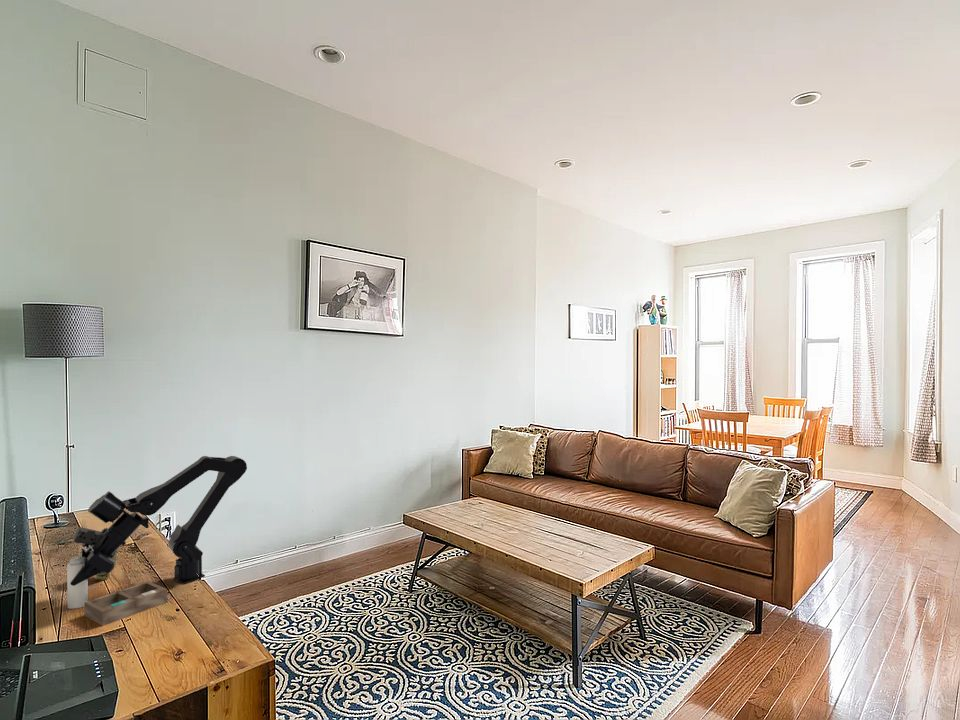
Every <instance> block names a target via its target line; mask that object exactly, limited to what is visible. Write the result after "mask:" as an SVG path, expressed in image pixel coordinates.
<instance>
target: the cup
mask: <svg viewBox="0 0 960 720" xmlns="http://www.w3.org/2000/svg"><path fill="white" fill-rule="evenodd" d="M113 555H114V556H113V557H112V558H111V559H112V560H113V562H114V568H113V569H112V570H111V571H110V572H109V573H106V572H101V573H99V574H96V575H95V576H94V577H95V580H96V581H105V580H108V579H109V578H110V576H111V572H113V571H114V570H115V568H116V563H117V557H118V550H116V551H115V552H114V553H113Z"/></svg>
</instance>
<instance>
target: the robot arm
mask: <svg viewBox="0 0 960 720" xmlns="http://www.w3.org/2000/svg"><path fill="white" fill-rule="evenodd" d="M247 469H248V465H247V462H246V461H245V460H244V459H242V458H241V457H238V456H236V455H230V456H229V455H228V456H227V457H217V456H214V457H213V456H208V455H203V456H201V457H200V458H199V459H198V460H196V461H195V462H193V463H192V464H191V465H188V466H187V467H186V468H184V469H183V470H181V471H179V472H178V473H177V474H175V475H174V476H172V477H171V478H169V479H168V480H167V481H165V482H163V483H161V484H159V485H157V486H154V487H151V488H148V489H147V490H144V491H143V492H141V493H139V494H137V496H136V497H132V498H127V499H125V500H124V499H123V500H121V499H120V498H118V497H117V496H116V495H115V494H114V493H112V492H111V491H109V490H108V491H107V492H106V493H105V494H103V495H101V496H100V497H99V498H97V499H95V501H93V502H92V504H91V505H90V506H89V508H88V509H87V512H88V513H90V514H91V515H92V516H94V517H95V518H98V520H101V522H104V523H105V524H107V523H112V524H111V525H110V526H109V527H105V528H103V529H101V531H99V530H95V529H90V528H87V527H81V526H79V527H77V530H76V532H74V535H73V537H72V540H73V542H74V543H76V544H81V546H82V548H81V550H80V552H81V556H80V557H84V565H83V567H82V568H81V569H80V571H79V572H78V573H77V575H76V576H75V577H74V579H73V580H72V581H71V583H70V584H71V585H73V586H74V585H76V584H78V583H80V582H82V581H84V580H86V579H88V580H89V579H90V578H92V577H95V576H96V574H99V573H101V572H106V573H109V572H110V571H111V570H112V569H113V568H114V562H113V560H112V559H111V558H112V557H113V556H114V555H113V553H114V552H115V551H118V549H120V547H121V546H123V547H124V546H125V545H126V544H127V542H126V541H127V540H128V539H129V538H130V537H131V536H132V535H133V534H134V533H135V531H137V529H138V528H140V527H141V526H142V527H144V528H145V529H149V521H150V518H149V517H150V516H152V515H154V514H156V513H157V512H158V511H159V510H160V509H161V508H163V507H164V506H165V504H167V502H168V501H169V499H170V498H171V497H172V496H174V495H175V494H176V493H178V492H179V491H181V490H182V489H183V488H185V487H187V486H188V485H189V484H191V483H192V482H194V481H195V480H197V479H198V478H199V477H201V476H203V475H204V474H205V473H208V472H209V471H210V472H211V471H214V472H217V476H216V479H215V481H214V483H213V485H211V487H210V489H209V490H208V491H207V493H206V495H205V496H204V497H203V499H202V500H201V502H200V504H199V505H198V506H197V507H196V509H195V511H194V512H193V513H192V515H191V517H190V518H189V520H188V521H187V522H186V523H185V524H183V525H182V526H180V525H179V524H177V525H176V526H175V529H174V530H173V532H172V533H171V534H170V535H169V536H168V538H169V540H168V542H167V543H168V548H169V550H170V551H171V552H172V553H173V554H174V556H175V557H178V558H177V559H175V565H174V567H173V568H174V576H173V577H172V579H173V581H176V582H179V583H181V584H188V583H191V582H195V581H197V580H199V579H201V578H204V577H206V575H205V574H204V573H203V566H202V565H203V554H204V553H203V551H202V550H201V549H200V548H199V547H198V546H197V543H198V541H199V537H200V534H201V532H202V529H203V527H204V526H205V524H206V523H207V521H208V520H209V518H210V517H211V515H212V514H213V513H214V510H215V509H216V507H218V505H219V503H220V502H221V500H222V499H223V497H224V495H225V494H226V492H227V491H228V490H229V488H230V487H232V486H233V485H234V484H235V483H237V482H238V481H239V480H240V479H241V478H242V476H243V475H245V473H246V471H247ZM138 513H139V514H138ZM148 516H149V517H148ZM114 569H115V568H114ZM114 569H113V570H114ZM110 573H111V572H110ZM196 573H197V574H198V575H199V577H200V578H198V575H197V574H196Z"/></svg>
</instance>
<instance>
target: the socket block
mask: <svg viewBox="0 0 960 720" xmlns="http://www.w3.org/2000/svg"><path fill="white" fill-rule="evenodd" d="M165 603H168V588H167V587H166V588H165V587H163V586H161V585H158V584H156V583H154V582H151V581H145V582H141V583H139V584H136V585H133V586H130V587H128V588H124V589H121V590H118V591H115V592H112V593H108V594H106V595H103V596H100V597H97V598H94V599H91V600H88V601H87V602H84V606H83V607H84V611H83V613H84V617H86V618H88V619H89V620H91V621H92V622H94V623H97V624H98V625H99V626H107V625H109V624H112V623H114V622H116V621H119V620H122V619H125V618H128V617H131V616H133V615H136V614H138V613H141V612H144V611H146V610H149V609H151V608H155V607H158V606H160V605H163V604H165Z"/></svg>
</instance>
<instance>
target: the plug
mask: <svg viewBox="0 0 960 720" xmlns="http://www.w3.org/2000/svg"><path fill="white" fill-rule="evenodd" d="M83 565H84V557H81V556H75V557H72V558H70V560H69V562H68V564H66V567H67V568H66V571H67V572H66V575H67V576H66V579H67V580H66V581H67V590H66V591H67V595H66V596H67V608H68V609H69V610H71V609H72V610H75V609H80V608H82V607H84V602H87V601H89V600H88V599H89V598H88V597H89V595H88V594H89V593H88V592H89V590H88V589H89V587H88V585H89V583H88V580H89V578H88V579H86V580H84V581H82V582H80V583H78V584H76V585H74V586H73V585H71V584H70V583H71V581H72V580H73V579H74V577H75V576H76V575H77V573H78V572H79V571H80V569H81V568H82V567H83Z"/></svg>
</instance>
